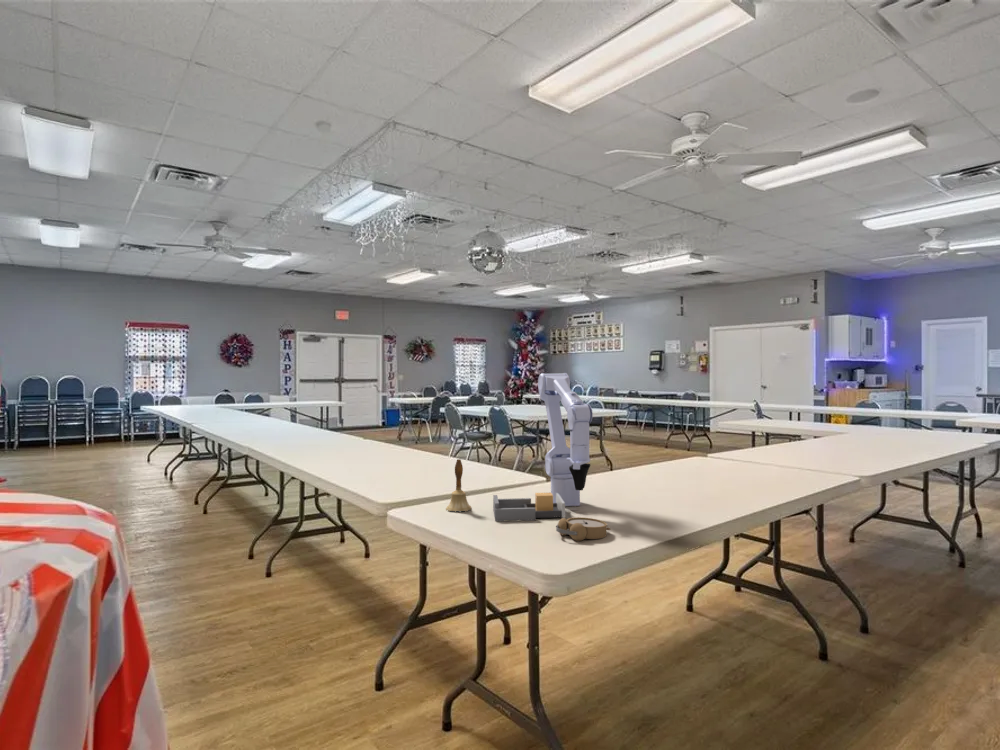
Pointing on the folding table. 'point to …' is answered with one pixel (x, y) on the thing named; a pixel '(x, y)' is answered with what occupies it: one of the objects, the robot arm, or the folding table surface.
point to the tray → (556, 512)
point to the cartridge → (543, 501)
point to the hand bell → (458, 492)
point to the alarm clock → (582, 528)
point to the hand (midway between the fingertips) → (580, 488)
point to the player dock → (512, 509)
